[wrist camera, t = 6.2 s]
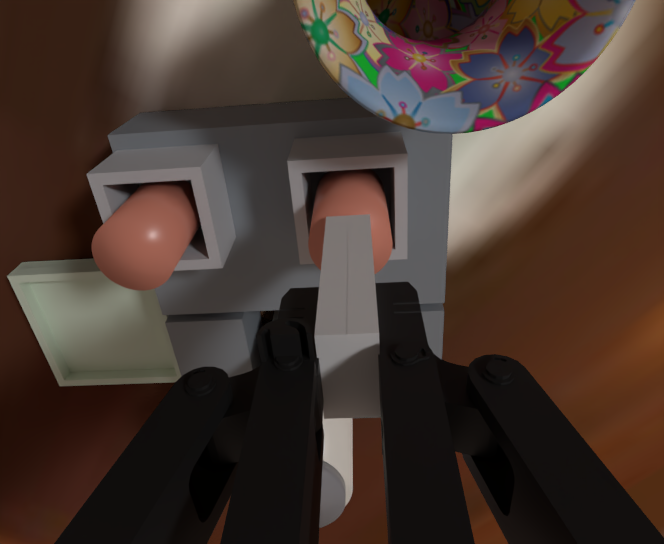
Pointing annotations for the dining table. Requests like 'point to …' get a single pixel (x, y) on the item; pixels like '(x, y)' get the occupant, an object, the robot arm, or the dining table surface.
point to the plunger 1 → (147, 235)
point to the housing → (275, 211)
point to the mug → (457, 55)
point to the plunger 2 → (351, 210)
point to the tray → (94, 325)
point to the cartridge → (335, 466)
